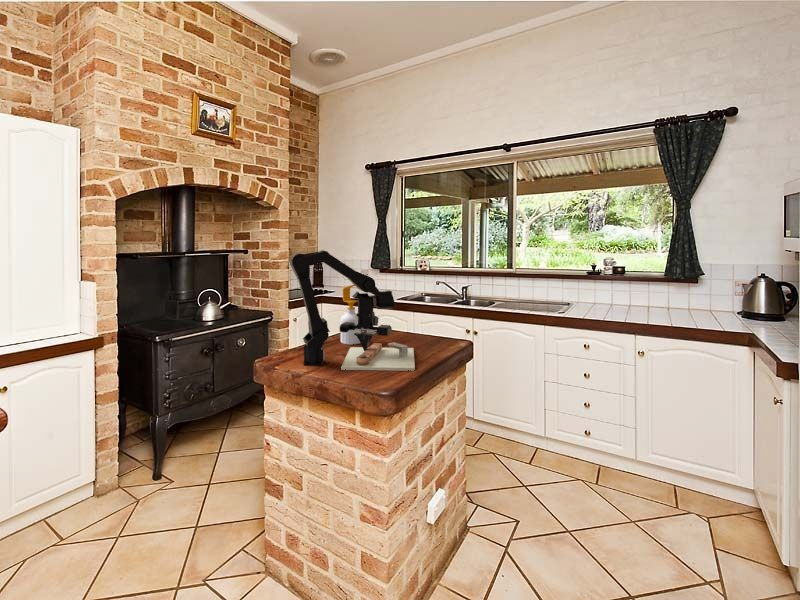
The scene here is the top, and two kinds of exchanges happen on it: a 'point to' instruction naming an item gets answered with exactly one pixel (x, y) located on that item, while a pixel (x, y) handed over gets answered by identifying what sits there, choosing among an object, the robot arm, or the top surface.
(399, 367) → the base board
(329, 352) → the top surface
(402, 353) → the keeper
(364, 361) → the link
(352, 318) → the soap bottle
